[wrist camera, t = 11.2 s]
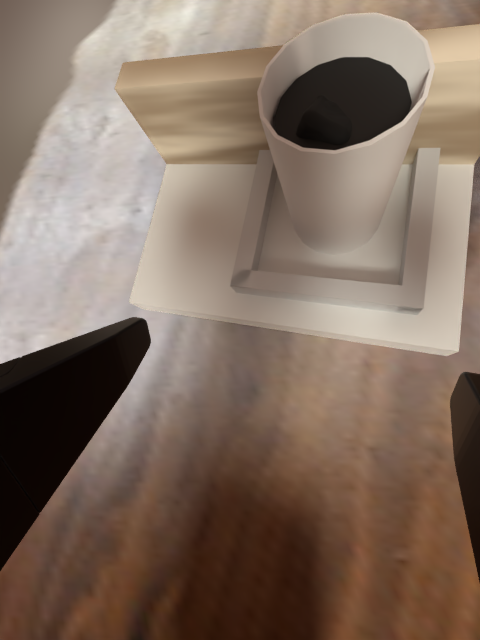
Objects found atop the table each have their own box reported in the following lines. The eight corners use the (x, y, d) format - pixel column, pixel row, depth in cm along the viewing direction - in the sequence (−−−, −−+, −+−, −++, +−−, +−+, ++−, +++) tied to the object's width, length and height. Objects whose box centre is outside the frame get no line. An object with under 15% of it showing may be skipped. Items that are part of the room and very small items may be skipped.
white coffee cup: (361, 276, 21) (386, 175, 11) (270, 240, 23) (228, 130, 14) (407, 188, 21) (466, 22, 12) (313, 161, 24) (302, 4, 14)
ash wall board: (462, 184, 23) (540, 54, 14) (177, 179, 29) (114, 88, 21) (464, 158, 23) (542, 17, 14) (182, 159, 29) (122, 62, 21)
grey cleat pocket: (446, 355, 20) (469, 347, 17) (142, 309, 27) (116, 296, 24) (462, 184, 23) (484, 147, 19) (177, 179, 29) (157, 151, 26)
